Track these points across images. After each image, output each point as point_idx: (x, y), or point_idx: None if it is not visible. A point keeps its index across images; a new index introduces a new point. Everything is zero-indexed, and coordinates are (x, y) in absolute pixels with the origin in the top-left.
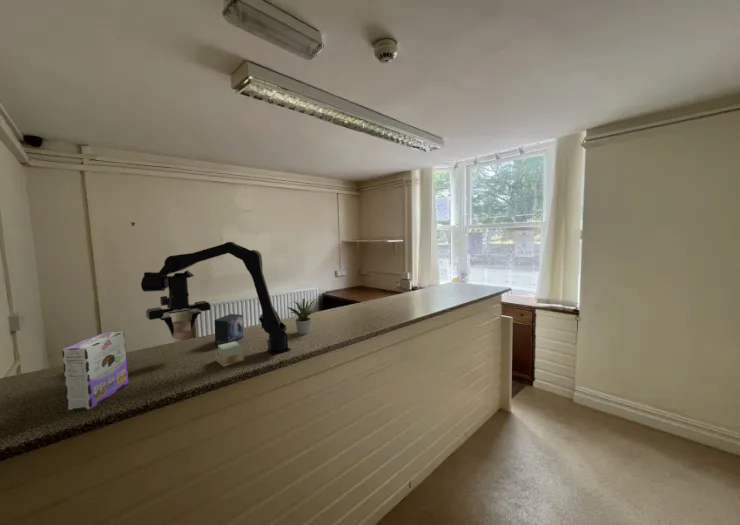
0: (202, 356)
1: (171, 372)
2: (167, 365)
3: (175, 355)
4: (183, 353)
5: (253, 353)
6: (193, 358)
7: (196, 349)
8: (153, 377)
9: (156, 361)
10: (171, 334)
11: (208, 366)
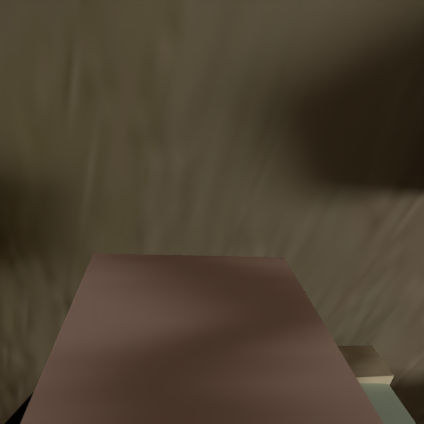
0: (272, 251)
1: None
2: (83, 242)
3: (165, 89)
4: (220, 95)
5: (418, 374)
6: (227, 244)
7: (317, 84)
8: (3, 343)
9: (28, 108)
10: (87, 268)
11: None
